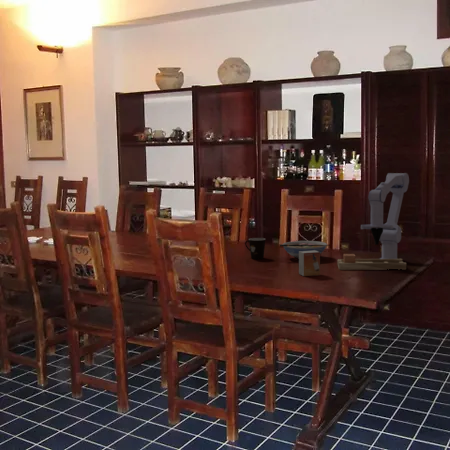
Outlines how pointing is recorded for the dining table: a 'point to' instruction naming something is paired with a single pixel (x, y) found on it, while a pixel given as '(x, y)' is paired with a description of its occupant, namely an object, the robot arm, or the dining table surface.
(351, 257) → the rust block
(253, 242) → the coffee mug
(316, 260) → the small box
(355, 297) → the dining table surface
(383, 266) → the trap lane
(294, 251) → the ramen bowl
